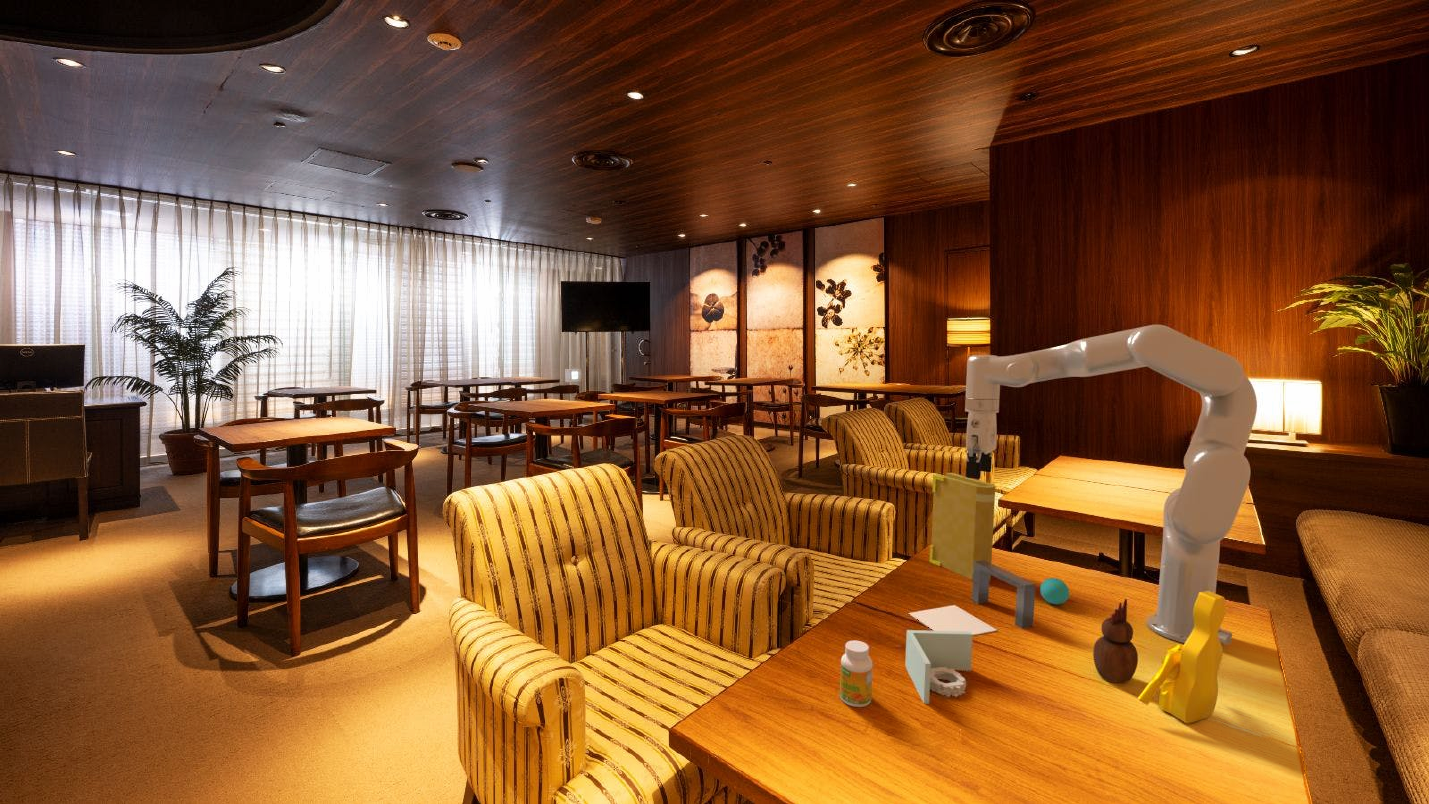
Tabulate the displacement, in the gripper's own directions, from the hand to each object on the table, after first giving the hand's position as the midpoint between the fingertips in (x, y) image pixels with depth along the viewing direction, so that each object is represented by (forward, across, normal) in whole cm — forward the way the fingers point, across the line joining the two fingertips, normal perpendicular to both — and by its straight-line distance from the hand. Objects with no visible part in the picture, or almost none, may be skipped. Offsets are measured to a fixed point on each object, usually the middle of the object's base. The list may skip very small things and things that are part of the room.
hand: (978, 474), depth 150 cm
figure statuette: (+30, -31, -43) cm, 61 cm away
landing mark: (+29, -22, -1) cm, 37 cm away
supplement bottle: (+30, -62, +3) cm, 69 cm away
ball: (+26, +4, -17) cm, 32 cm away
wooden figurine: (+30, -26, -32) cm, 51 cm away
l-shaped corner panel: (+30, -47, -8) cm, 57 cm away
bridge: (+29, -10, -9) cm, 32 cm away
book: (+30, +11, +6) cm, 32 cm away
